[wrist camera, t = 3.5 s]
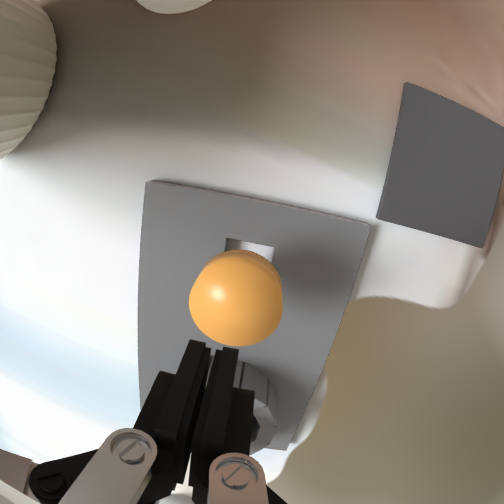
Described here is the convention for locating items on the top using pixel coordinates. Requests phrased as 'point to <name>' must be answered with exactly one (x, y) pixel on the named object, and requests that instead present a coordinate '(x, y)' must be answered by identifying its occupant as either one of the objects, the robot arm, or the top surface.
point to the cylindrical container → (172, 5)
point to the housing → (293, 293)
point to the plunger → (237, 298)
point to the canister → (23, 68)
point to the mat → (443, 168)
